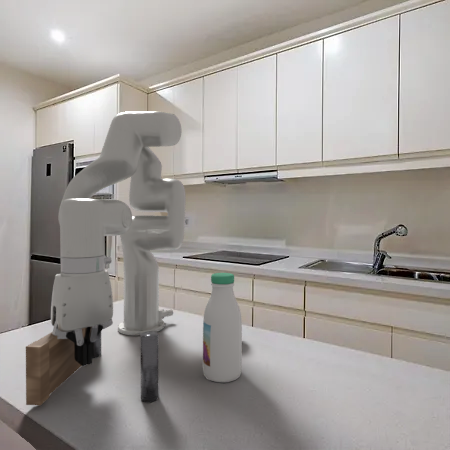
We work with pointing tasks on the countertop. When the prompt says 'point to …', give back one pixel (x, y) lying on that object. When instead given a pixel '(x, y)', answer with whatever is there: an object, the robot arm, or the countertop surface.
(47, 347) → the walnut gate
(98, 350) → the hinge post
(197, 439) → the countertop surface
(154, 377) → the post
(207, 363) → the milk bottle
